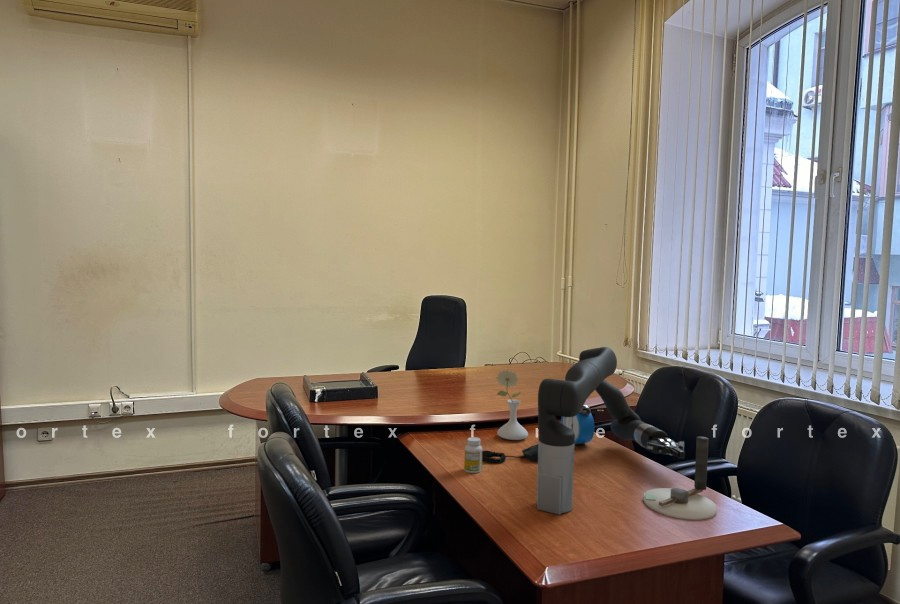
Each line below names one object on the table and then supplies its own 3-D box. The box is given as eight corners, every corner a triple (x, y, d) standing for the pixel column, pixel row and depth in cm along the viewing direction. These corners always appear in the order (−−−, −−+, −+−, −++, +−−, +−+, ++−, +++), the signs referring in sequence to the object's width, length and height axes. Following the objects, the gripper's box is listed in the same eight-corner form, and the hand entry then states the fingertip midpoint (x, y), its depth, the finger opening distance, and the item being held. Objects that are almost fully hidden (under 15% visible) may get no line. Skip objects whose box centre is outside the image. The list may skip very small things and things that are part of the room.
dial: (668, 510, 142) (670, 451, 141) (652, 504, 145) (655, 446, 144) (710, 493, 153) (713, 439, 152) (695, 488, 157) (698, 435, 156)
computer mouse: (570, 462, 182) (571, 445, 181) (474, 466, 175) (475, 449, 175) (559, 452, 191) (560, 437, 191) (467, 456, 184) (468, 440, 184)
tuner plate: (713, 526, 136) (713, 520, 136) (637, 509, 145) (637, 504, 145) (718, 500, 152) (719, 496, 152) (649, 486, 161) (649, 482, 161)
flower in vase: (533, 437, 207) (535, 370, 206) (520, 444, 198) (522, 374, 196) (501, 431, 214) (503, 366, 213) (487, 438, 204) (489, 370, 203)
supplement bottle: (471, 466, 175) (472, 435, 174) (485, 470, 171) (486, 439, 171) (460, 470, 170) (461, 439, 170) (474, 474, 167) (475, 442, 167)
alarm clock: (560, 438, 206) (561, 398, 205) (574, 437, 208) (575, 397, 207) (579, 449, 194) (581, 406, 193) (594, 448, 196) (596, 405, 195)
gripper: (632, 427, 179) (662, 443, 162) (669, 425, 181) (703, 442, 164) (631, 450, 179) (661, 468, 162) (668, 448, 182) (702, 467, 165)
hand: (682, 455), depth 163 cm, fingers closed
